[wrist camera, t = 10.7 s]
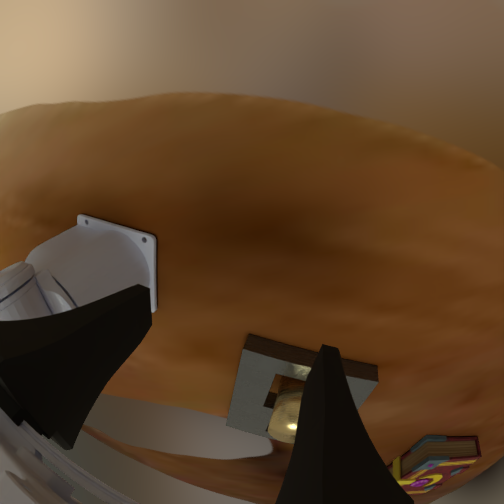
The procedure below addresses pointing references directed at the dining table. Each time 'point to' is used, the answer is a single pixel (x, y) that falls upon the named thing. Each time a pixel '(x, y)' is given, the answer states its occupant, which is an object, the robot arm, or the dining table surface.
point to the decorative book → (434, 462)
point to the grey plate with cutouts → (288, 364)
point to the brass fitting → (286, 409)
